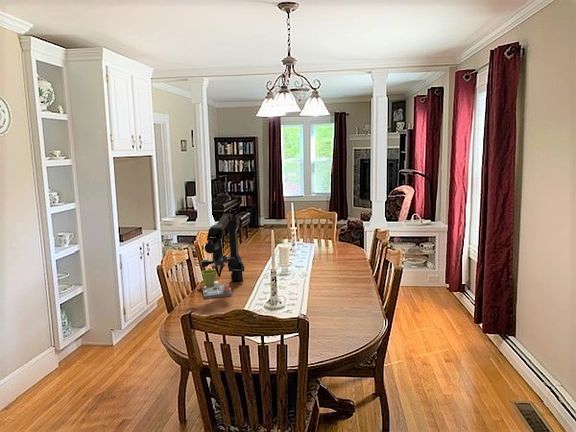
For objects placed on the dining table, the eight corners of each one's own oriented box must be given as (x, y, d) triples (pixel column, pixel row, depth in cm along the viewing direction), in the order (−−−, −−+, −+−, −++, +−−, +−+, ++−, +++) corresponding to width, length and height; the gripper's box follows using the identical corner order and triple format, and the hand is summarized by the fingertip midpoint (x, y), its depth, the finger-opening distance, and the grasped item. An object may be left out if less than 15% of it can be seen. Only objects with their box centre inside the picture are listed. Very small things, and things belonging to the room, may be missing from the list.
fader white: (218, 286, 264) (218, 281, 263) (219, 287, 260) (218, 282, 260) (214, 286, 263) (214, 281, 263) (215, 288, 260) (214, 283, 259)
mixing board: (228, 286, 268) (228, 281, 267) (232, 295, 250) (231, 290, 250) (202, 289, 264) (201, 285, 264) (204, 298, 247) (203, 293, 247)
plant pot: (202, 288, 266) (201, 274, 265) (201, 284, 275) (200, 270, 274) (218, 286, 268) (217, 272, 267) (217, 282, 277) (216, 268, 276)
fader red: (228, 289, 256) (227, 284, 256) (229, 291, 253) (228, 286, 252) (224, 290, 255) (223, 284, 255) (224, 291, 252) (224, 286, 252)
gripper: (201, 254, 240) (203, 282, 242) (236, 250, 244) (238, 278, 246) (199, 250, 250) (201, 277, 253) (233, 246, 255) (235, 273, 257)
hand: (219, 277), depth 252 cm, fingers closed
